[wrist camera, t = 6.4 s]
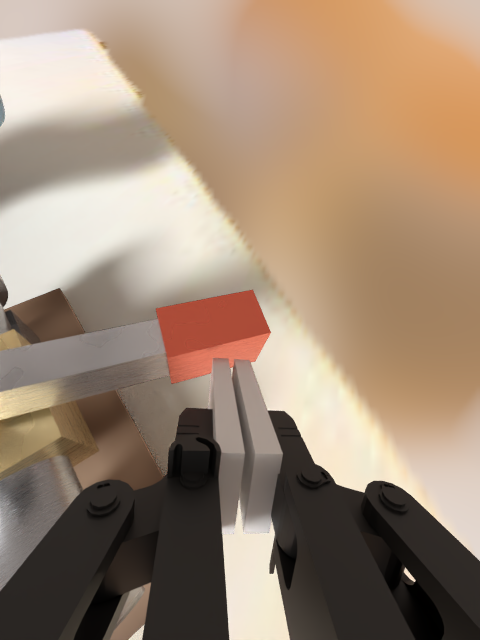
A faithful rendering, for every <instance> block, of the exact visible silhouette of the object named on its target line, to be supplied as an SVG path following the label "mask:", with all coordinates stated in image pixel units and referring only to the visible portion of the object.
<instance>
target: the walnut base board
mask: <svg viewBox="0 0 480 640" xmlns="http://www.w3.org/2000/svg"><path fill="white" fill-rule="evenodd" d="M8 310H11V311H12V312H13V313H15V314H16V315H17V316H18V317H19V318H20V319H21V320H22V321H23V322H24V323H25V324H26V325H27V326H28V327H29V328H30V329H31V330H32V331H33V332H34V333H35V334H36V335H37V336H38V337H39V339H40V341H41V342H46V341H51V340H56V339H61V338H66V337H71V336H76V335H81V334H86V333H85V332H84V330H83V328H82V326H81V324H80V322H79V321H78V319H77V317H76V315H75V313H74V311H73V310H72V308H71V306H70V304H69V302H68V300H67V299H66V297H65V296H64V294H63V293H62V291H61V289H60V288H59V289H56V290H53V291H51V292H48V293H46V294H43V295H41V296H38V297H35V298H33V299H30V300H28V301H25V302H23V303H20V304H17V305H15V306H12V307H10V308H7V309H5V310H4V312H6V311H8ZM75 401H76V403H77V405H78V407H79V409H80V411H81V413H82V416H83V418H84V420H85V422H86V424H87V426H88V428H89V430H90V432H91V434H92V436H93V438H94V440H95V442H96V444H97V447H98V449H99V451H98V452H97V453H95V454H93V455H92V456H90V457H89V458H87V459H86V460H84V461H83V462H81V463H79V464H78V465H76V466H75V467H73V468H74V470H75V472H76V475H77V477H78V479H79V481H80V484H81V486H82V488H83V490H84V489H85V488H87V487H89V486H91V485H93V484H95V483H96V482H100V481H104V480H108V479H109V480H121V481H123V482H126V483H128V484H129V485H130V486H131V488H132V489H133V491H134V490H138V489H141V488H145V487H148V486H151V485H153V484H155V483H157V482H159V481H160V480H161V479H163V478H164V476H163V474H162V472H161V471H160V469H159V467H158V465H157V463H156V462H155V460H154V458H153V456H152V454H151V452H150V451H149V449H148V447H147V445H146V443H145V441H144V440H143V438H142V436H141V434H140V432H139V430H138V429H137V427H136V425H135V423H134V421H133V419H132V418H131V416H130V414H129V412H128V410H127V408H126V407H125V405H124V403H123V401H122V399H121V397H120V396H119V394H118V392H117V390H112V391H109V392H105V393H101V394H97V395H93V396H90V397H86V398H82V399H78V400H75ZM150 586H151V583H148V584H146V585H144V587H145V592H144V594H143V595H142V597H141V598H140V600H139V601H138V603H137V604H136V605H135V607H134V608H133V609H132V610H131V612H130V613H129V614H128V615H127V616H126V617H125V619H124V620H123V621H122V622H121V623H120V624H119V625H118V627H117V628H116V629H115V630H114V631H113V634H112V636H111V638H110V640H128V639H129V638H130V637H131V636H132V635H133V634H134V633H135V632H136V631H137V630H139V629H140V628H141V627H142V626H143V625H144V624H145V619H146V612H147V606H148V599H149V593H150Z"/></svg>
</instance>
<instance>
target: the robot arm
mask: <svg viewBox="0 0 480 640" xmlns="http://www.w3.org/2000/svg"><path fill="white" fill-rule="evenodd" d="M4 119H5V109H4V106H3V102H2V98H1V95H0V126H1V125H2V123H3V122H4ZM239 499H240V508H241V516H242V524H243V532H244V534H247V533H269V531H270V525H271V520H272V522H273V526H274V530H275V538H274V543H273V549H272V554H271V560H270V574H273V573H274V568H275V564H276V569H277V574H278V579H279V584H280V589H281V595H282V600H283V605H284V610H285V615H286V620H287V626H288V631H289V636H290V640H480V561H479V560H478V559H477V558H476V557H475V556H474V555H473V554H472V553H471V552H470V551H469V550H468V549H467V548H466V547H464V546H463V545H462V544H461V543H460V542H459V541H458V540H457V539H456V538H455V537H454V536H453V535H452V534H451V533H450V532H449V531H448V530H447V529H446V528H445V527H444V526H442V525H441V524H440V523H439V522H438V521H437V520H436V519H435V518H434V517H433V516H432V515H431V514H430V513H429V512H428V511H427V510H426V509H425V508H424V507H423V506H421V505H420V504H419V503H418V502H417V501H416V500H415V499H414V498H413V497H412V496H411V495H410V494H408V493H407V492H406V491H404V490H403V489H402V488H400V487H398V486H396V485H394V484H392V483H388V482H384V481H373V482H371V483H369V484H368V485H367V487H366V490H365V493H363V492H359V491H356V490H352V489H348V488H345V487H342V486H339V485H337V484H336V483H335V481H334V479H333V478H332V477H331V475H330V474H329V473H328V472H327V471H326V470H325V469H323V468H322V467H321V466H318V465H316V464H315V463H314V461H313V459H312V457H311V455H310V453H309V451H308V449H307V447H306V445H305V443H304V441H303V439H302V437H301V434H300V432H299V430H297V426H296V424H295V422H294V420H293V419H292V418H291V417H290V416H289V415H288V414H287V413H286V412H285V411H267V408H266V405H265V402H264V399H263V397H262V394H261V391H260V388H259V385H258V382H257V380H256V377H255V374H254V371H253V368H252V366H251V363H250V360H242V359H234V365H233V374H232V376H231V371H230V365H229V359H227V358H213V361H212V371H211V382H210V392H209V402H208V409H198V408H186V409H185V410H184V411H183V412H182V413H181V415H180V416H179V422H178V427H177V434H176V439H175V441H174V442H173V443H172V445H171V447H170V449H169V456H168V472H167V474H166V476H165V477H164V478H163V479H161V480H160V481H159V482H157V483H155V484H153V485H151V486H148V487H145V488H141V489H138V490H134V491H133V489H132V488H131V486H130V485H129V484H128V483H126V482H123V481H121V480H109V479H108V480H104V481H100V482H96V483H95V484H93V485H91V486H89V487H87V488H85V489H84V490H83V491H82V492H81V493H80V494H79V495H78V496H77V497H76V498H75V499H74V500H73V502H72V503H71V504H70V505H69V507H68V508H67V509H66V510H65V512H64V513H63V514H62V515H61V516H60V518H59V519H58V520H57V521H56V523H55V524H54V525H53V526H52V528H51V529H50V530H49V531H48V533H47V534H46V535H45V536H44V538H43V539H42V540H41V541H40V543H39V544H38V545H37V546H36V547H35V549H34V550H33V551H32V552H31V554H30V555H29V556H28V557H27V559H26V560H25V561H24V562H23V564H22V565H21V566H20V567H19V569H18V570H17V571H16V572H15V574H14V575H13V576H12V577H11V578H10V580H9V581H8V582H7V583H6V585H5V586H4V587H3V588H2V590H1V591H0V640H110V638H111V636H112V634H113V631H114V629H115V626H116V624H117V622H118V619H119V617H120V615H121V612H122V610H123V608H124V605H125V603H126V600H127V598H128V596H129V593H130V591H131V590H134V589H136V588H139V587H141V586H144V585H146V584H148V583H151V586H150V593H149V599H148V606H147V612H146V619H145V625H144V632H143V638H142V640H229V630H228V614H227V599H226V584H225V569H224V554H223V539H222V534H234V529H235V522H236V515H237V508H238V500H239ZM405 567H406V569H407V570H408V571H409V572H410V574H411V575H412V576H413V577H414V579H415V580H416V581H415V582H413V581H412V580H410V579H409V578H408V577H407V576H406V574H405V573H404V569H405Z"/></svg>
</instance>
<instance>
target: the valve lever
mask: <svg viewBox="0 0 480 640" xmlns="http://www.w3.org/2000/svg"><path fill="white" fill-rule="evenodd" d="M156 312H157V318H158V319H154V320H149V321H144V322H140V323H135V324H130V325H125V326H120V327H115V328H110V329H105V330H100V331H95V332H90V333H86V334H81V335H76V336H71V337H66V338H61V339H56V340H51V341H46V342H41V343H36V344H32V345H27V346H22V347H17V348H12V349H7V350H2V351H0V420H2V419H6V418H10V417H14V416H17V415H21V414H25V413H29V412H33V411H36V410H40V409H44V408H48V407H52V406H55V405H59V404H63V403H67V402H71V401H74V400H78V399H82V398H86V397H90V396H93V395H97V394H101V393H105V392H109V391H112V390H116V389H120V388H124V387H128V386H131V385H135V384H139V383H143V382H147V381H150V380H154V379H158V378H162V377H166V376H169V375H170V379H171V383H172V384H173V383H177V382H181V381H184V380H188V379H192V378H195V377H199V376H203V375H206V374H210V373H211V371H212V361H213V358H227V359H229V365H230V368H232V367H233V365H234V359H242V360H250V362H254V361H256V359H257V357H258V355H259V353H260V352H261V350H262V348H263V346H264V344H265V342H266V341H267V339H268V337H269V335H270V333H271V332H270V329H269V327H268V324H267V322H266V320H265V317H264V315H263V313H262V310H261V308H260V306H259V303H258V301H257V298H256V296H255V294H254V291H253V290H249V291H244V292H239V293H233V294H228V295H223V296H218V297H213V298H207V299H202V300H197V301H192V302H187V303H182V304H176V305H171V306H166V307H161V308H156Z"/></svg>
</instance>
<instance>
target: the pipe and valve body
mask: <svg viewBox="0 0 480 640" xmlns="http://www.w3.org/2000/svg"><path fill="white" fill-rule="evenodd" d="M7 299H8V291H7V288H6V286H5V284H4V282H3V280H2V277H1V275H0V351H2V350H7V349H12V348H17V347H22V346H27V345H32V344H36V343H41V341H40V339H39V337H38V336H37V335H36V334H35V333H34V332H33V331H32V330H31V329H30V328H29V327H28V326H27V325H26V324H25V323H24V322H23V321H22V320H21V319H20V318H19V317H18V316H17V315H16V314H15V313H13V312H12V311H11V310H8V311H6V312H4V309H3V307H4V306H5V304H6V302H7ZM98 451H99V449H98V447H97V444H96V442H95V440H94V438H93V436H92V434H91V432H90V430H89V428H88V426H87V424H86V422H85V420H84V418H83V416H82V413H81V411H80V409H79V407H78V405H77V403H76V401H75V400H74V401H71V402H67V403H63V404H59V405H55V406H52V407H48V408H44V409H40V410H36V411H33V412H29V413H25V414H21V415H17V416H14V417H10V418H6V419H2V420H0V591H1V590H2V588H3V587H4V586H5V585H6V583H7V582H8V581H9V580H10V578H11V577H12V576H13V575H14V574H15V572H16V571H17V570H18V569H19V567H20V566H21V565H22V564H23V562H24V561H25V560H26V559H27V557H28V556H29V555H30V554H31V552H32V551H33V550H34V549H35V547H36V546H37V545H38V544H39V543H40V541H41V540H42V539H43V538H44V536H45V535H46V534H47V533H48V531H49V530H50V529H51V528H52V526H53V525H54V524H55V523H56V521H57V520H58V519H59V518H60V516H61V515H62V514H63V513H64V512H65V510H66V509H67V508H68V507H69V505H70V504H71V503H72V502H73V500H74V499H75V498H76V497H77V496H78V495H79V494H80V493H81V492H82V491H83V488H82V486H81V484H80V481H79V479H78V477H77V475H76V472H75V470H74V468H73V467H75V466H76V465H78V464H79V463H81V462H83V461H84V460H86V459H87V458H89V457H90V456H92V455H93V454H95V453H97V452H98ZM144 592H145V587H144V586H141V587H139V588H136V589H134V590H131V591H130V593H129V596H128V598H127V600H126V603H125V605H124V608H123V610H122V612H121V615H120V617H119V619H118V622H117V624H116V626H115V629H116V628H117V627H118V625H119V624H120V623H121V622H122V621H123V620H124V619H125V617H126V616H127V615H128V614H129V613H130V612H131V610H132V609H133V608H134V607H135V605H136V604H137V603H138V601H139V600H140V598H141V597H142V595H143V594H144ZM115 629H114V630H115Z"/></svg>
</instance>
